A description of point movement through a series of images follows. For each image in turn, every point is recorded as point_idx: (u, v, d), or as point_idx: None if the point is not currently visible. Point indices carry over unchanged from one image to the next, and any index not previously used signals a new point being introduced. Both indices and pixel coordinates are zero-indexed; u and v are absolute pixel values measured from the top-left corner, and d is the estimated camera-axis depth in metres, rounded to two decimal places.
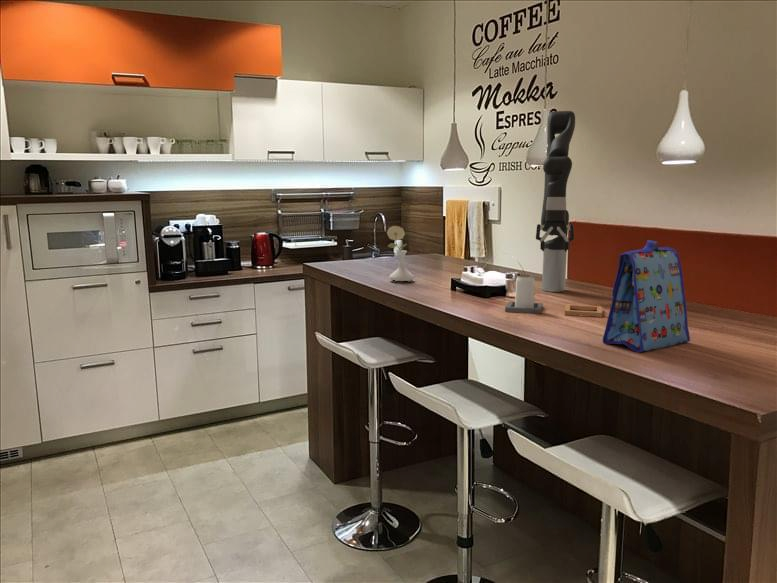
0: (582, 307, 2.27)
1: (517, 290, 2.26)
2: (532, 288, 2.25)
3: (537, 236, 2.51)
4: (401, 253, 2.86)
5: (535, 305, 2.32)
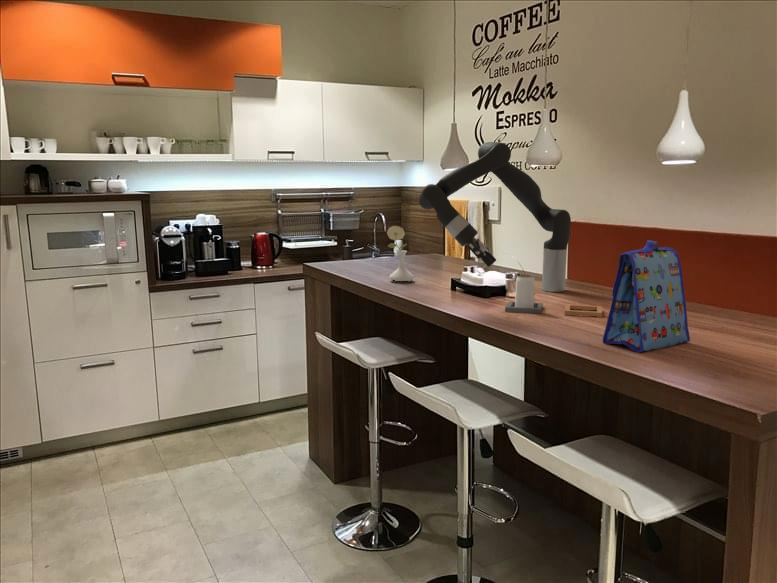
0: (582, 307, 2.27)
1: (517, 290, 2.26)
2: (532, 288, 2.25)
3: None
4: (401, 253, 2.86)
5: (535, 305, 2.32)
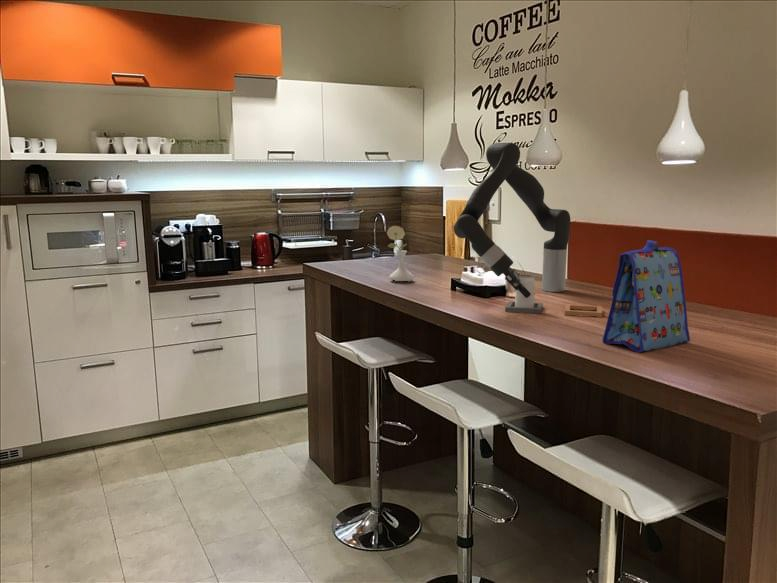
0: (582, 307, 2.27)
1: (517, 290, 2.26)
2: (532, 288, 2.25)
3: None
4: (401, 253, 2.86)
5: (535, 305, 2.32)
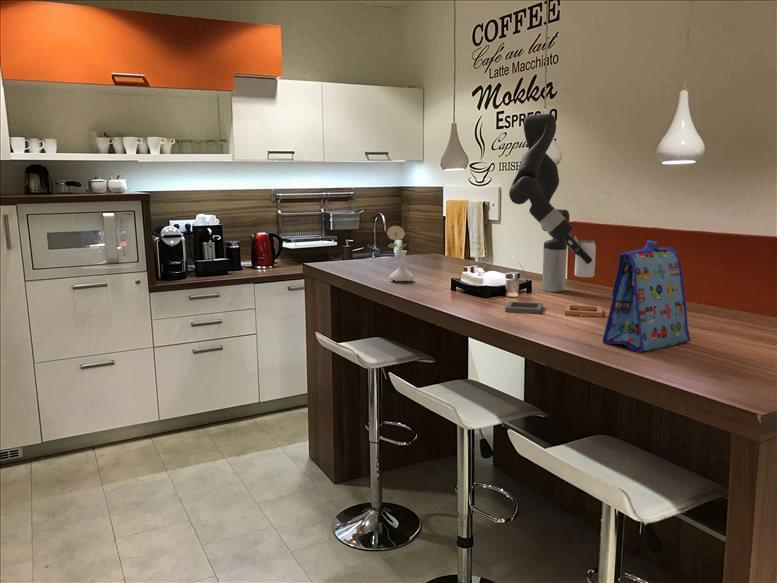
0: (582, 307, 2.27)
1: (577, 256, 2.18)
2: (593, 254, 2.17)
3: None
4: (401, 253, 2.86)
5: (535, 305, 2.32)
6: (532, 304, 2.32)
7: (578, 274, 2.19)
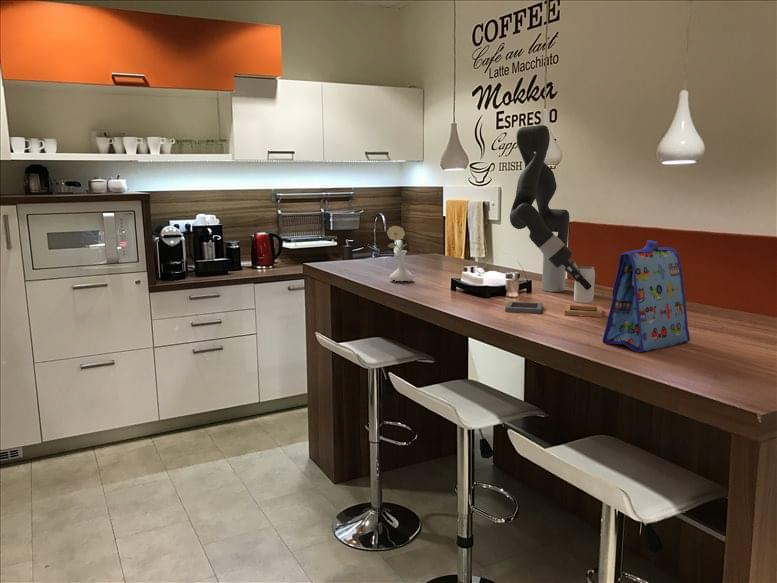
0: (582, 307, 2.27)
1: (576, 282, 2.20)
2: (593, 280, 2.18)
3: None
4: (401, 253, 2.86)
5: (535, 305, 2.32)
6: (532, 304, 2.32)
7: (577, 300, 2.20)
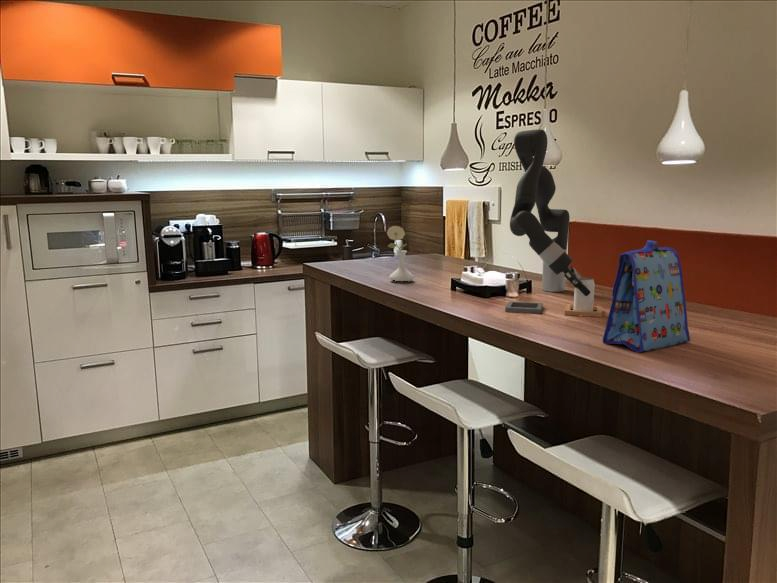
0: None
1: (576, 293, 2.21)
2: (592, 291, 2.19)
3: None
4: (401, 253, 2.86)
5: (535, 305, 2.32)
6: (532, 304, 2.32)
7: None
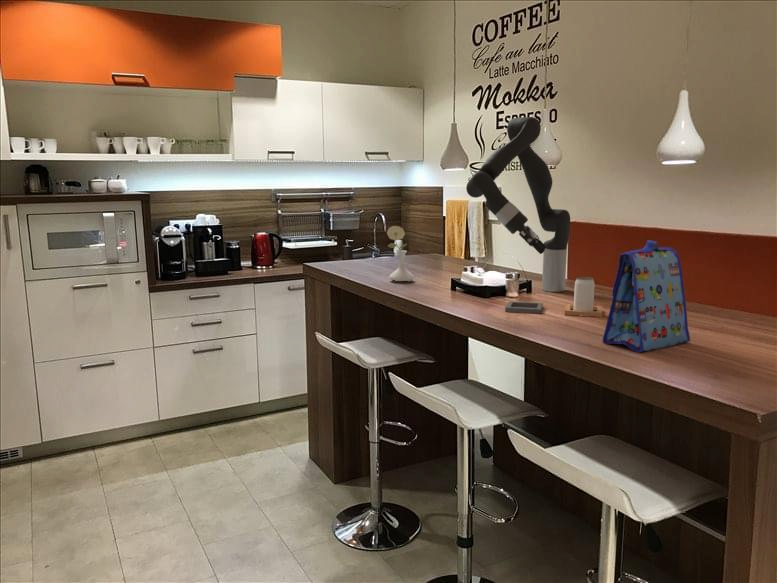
0: None
1: (576, 293, 2.21)
2: (592, 291, 2.19)
3: None
4: (401, 253, 2.86)
5: (535, 305, 2.32)
6: (532, 304, 2.32)
7: None
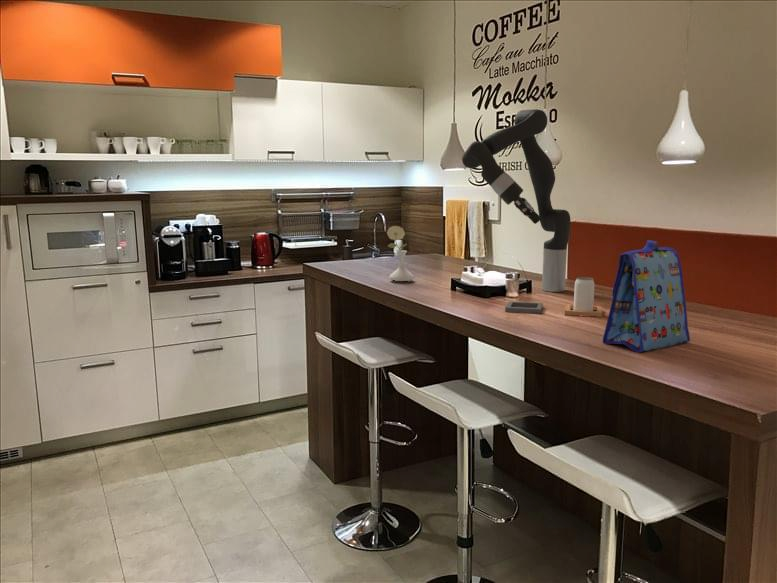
0: None
1: (576, 293, 2.21)
2: (592, 291, 2.19)
3: None
4: (401, 253, 2.86)
5: (535, 305, 2.32)
6: (532, 304, 2.32)
7: None
